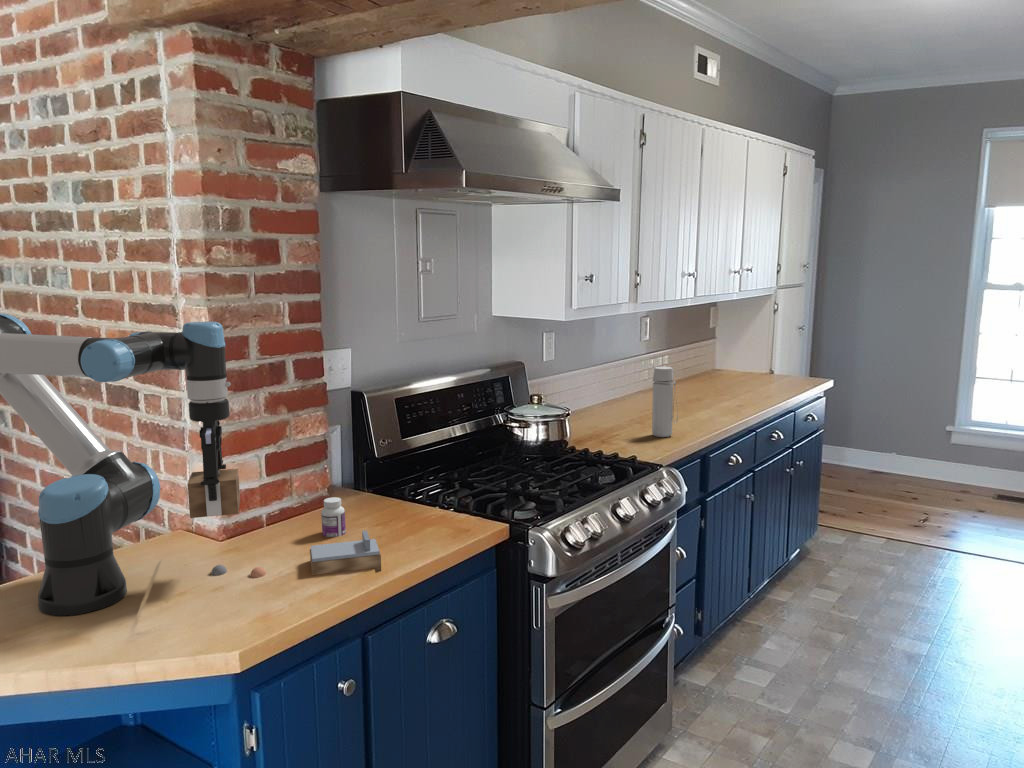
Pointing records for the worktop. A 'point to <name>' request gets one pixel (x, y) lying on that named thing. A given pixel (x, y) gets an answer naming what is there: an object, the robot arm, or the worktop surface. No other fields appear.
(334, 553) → the sliding lid
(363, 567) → the pencil box
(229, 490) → the cover
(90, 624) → the worktop surface
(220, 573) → the ball grey
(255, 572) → the ball terracotta
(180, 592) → the worktop surface
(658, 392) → the water bottle
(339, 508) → the pill bottle
